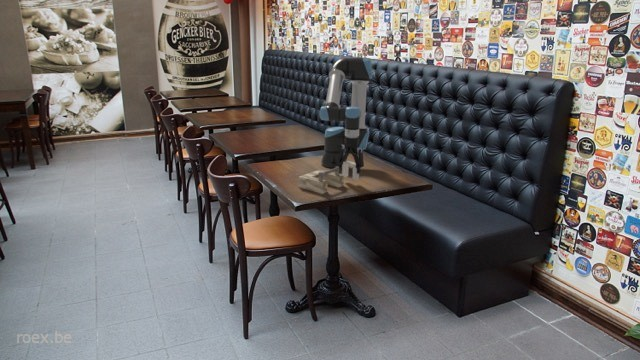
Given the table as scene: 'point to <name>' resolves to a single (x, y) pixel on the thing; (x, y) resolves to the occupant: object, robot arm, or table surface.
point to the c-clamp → (321, 180)
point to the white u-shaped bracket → (346, 167)
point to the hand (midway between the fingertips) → (350, 177)
